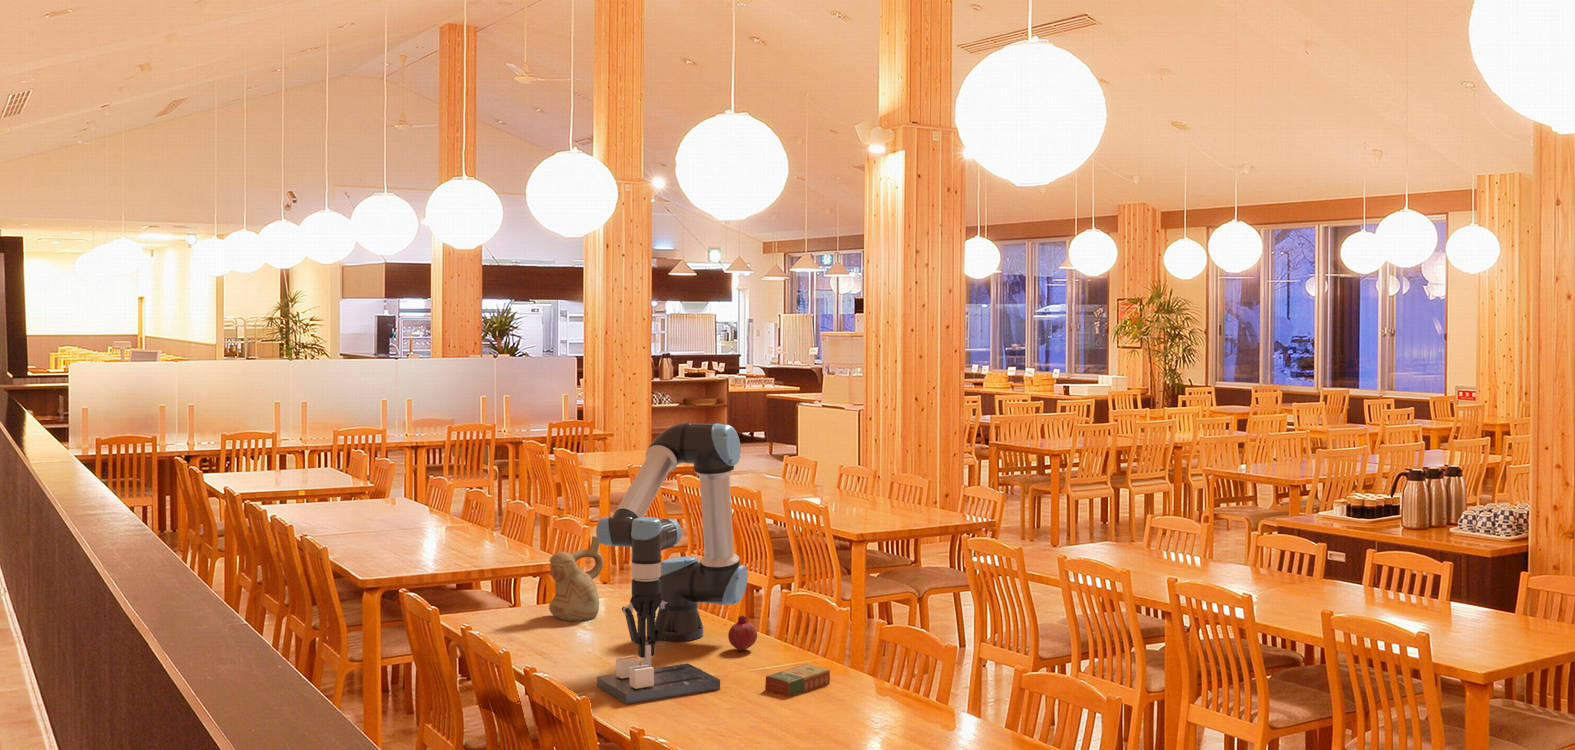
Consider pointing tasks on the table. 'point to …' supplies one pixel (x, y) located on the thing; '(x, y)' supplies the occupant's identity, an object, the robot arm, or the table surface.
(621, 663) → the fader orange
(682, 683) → the console
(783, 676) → the carton
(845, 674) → the table surface
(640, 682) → the fader grey
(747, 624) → the fruit
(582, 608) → the ceramic vessel
